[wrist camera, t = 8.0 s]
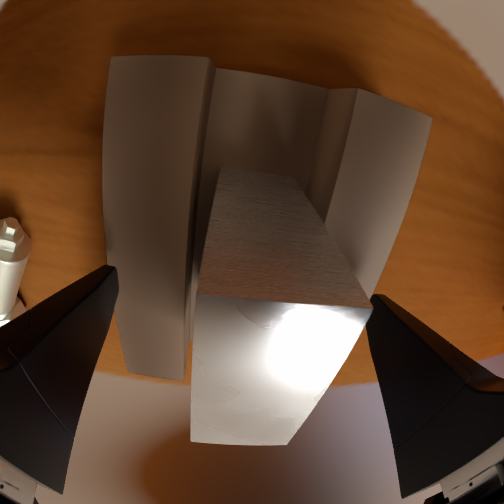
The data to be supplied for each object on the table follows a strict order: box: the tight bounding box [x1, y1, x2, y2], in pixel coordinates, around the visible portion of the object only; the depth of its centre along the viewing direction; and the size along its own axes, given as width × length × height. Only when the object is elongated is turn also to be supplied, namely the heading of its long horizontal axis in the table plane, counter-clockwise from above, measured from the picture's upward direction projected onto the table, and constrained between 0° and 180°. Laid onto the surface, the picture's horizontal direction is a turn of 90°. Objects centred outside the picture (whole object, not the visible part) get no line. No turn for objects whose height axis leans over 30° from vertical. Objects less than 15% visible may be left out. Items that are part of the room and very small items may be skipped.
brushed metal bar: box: [191, 167, 374, 445], centre depth 9 cm, size 3×6×8 cm, turn 170°
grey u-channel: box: [102, 55, 433, 381], centre depth 12 cm, size 10×14×4 cm
